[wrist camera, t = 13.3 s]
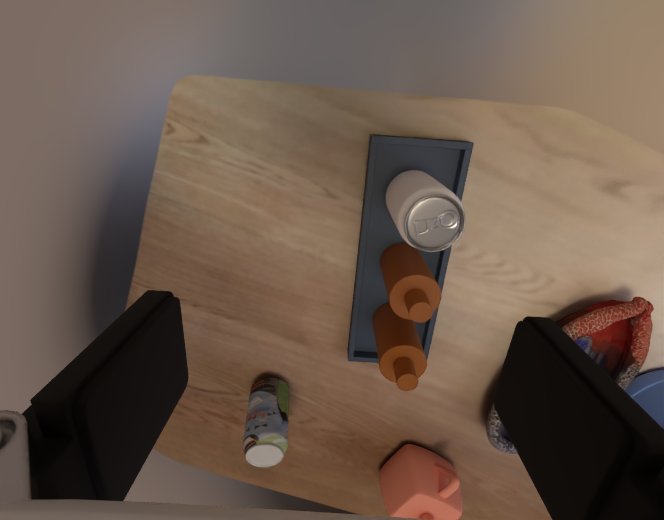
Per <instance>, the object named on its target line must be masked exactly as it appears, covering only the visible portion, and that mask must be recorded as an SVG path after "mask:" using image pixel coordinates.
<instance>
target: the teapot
mask: <svg viewBox="0 0 664 520" xmlns="http://www.w3.org/2000/svg"><path fill="white" fill-rule="evenodd" d="M379 482H380V488H381V492H382V496H383V499H384V503H385V505H386V508H387V511H388V513H389V516H390V517H400V518H415V519H430V520H457V519H459V518H460V517H461V515H462V495H461V488H460V479H459V477H458V476H457V473H456V471H455V469H454V468H453V466H452V465H451V464H450V463H449V462H448V461H447V460H445V459H444V458H442V457H441V456H439V455H437V454H436V453H434V452H432V451H430V450H427V449H424V448H422V447H419V446H416V445H413V444H406V445H404V446H403V447H402V448H401V449H400V450H398V451H397V452H396V453H395V454H394V455H393V456H392V457H391V458H390V459H389V460H388V461H387V462H386V463H385V464H384V466H383V467H382V468H381V471H380V475H379Z"/></svg>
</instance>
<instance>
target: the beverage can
mask: <svg viewBox="0 0 664 520" xmlns="http://www.w3.org/2000/svg"><path fill="white" fill-rule="evenodd" d="M288 413H289V388H288V386H287V384H286V383H285V382H284V381H282V380H280V379H277V378H271V377H270V378H263V379H260V380H258V381H256V382H255V383H254V384H253V385H252V387H251V391H250V398H249V405H248V412H247V419H246V427H245V434H244V441H243V451H244V453H245V455H246V459H247V461H248V462H249V463H250V464H252V465H254V466H257V467H270V466H274V465H276V464H278V463H279V462H280V461H281V460H282V458H283V455H284V454H285V452H286V450H287V447H288Z"/></svg>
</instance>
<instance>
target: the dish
mask: <svg viewBox="0 0 664 520" xmlns="http://www.w3.org/2000/svg"><path fill="white" fill-rule="evenodd" d="M653 309H654V308H653V305H652V304H651V303H650V302H649V301H646V300H645V299H644V298H641V297H634V298H633V300H632V301H629V302H623V301H616V300H609V301H604V302H601V303H597V304H595V305H593V306H591V307H589V308H587V309H584V310H582V311H580V312H577V313H575V314H572V315H570V316H568V317H566V318H564V319H562V320H561V321H559V322H557V323H556V324H557V325H558V326H559V327H560V328H561V329H562V330H563V331H564V332H565V333H566V334H567V335H568V336H569V337H570V338H571V339H572V340H574V341H575V342H576V343H577V344H578V345H579V346H580V347H581V348H582V349H583V350H584V351H585V352H586V353H587V354H588V355H589V356H590V357H591V358H592V359H593V360H594V361H595V362H596V363H597V364H598V365H599V366H600V367H601V368H602V369H603V370H604V371H605V372H606V373H607V374H608V375H609V376H610V377H611V378H612V379H613V380H614V381H615V382H616V383H617V384H618V385H619V386H620V387H621V388H622V389H623V390H625V389H626V387H627V386H628V385H629V384H630V383H631V381H632V380H633V379H634V377H635V376H636V375H637V373H638V372H639V370H640V368H641V367H642V365H643V363H644V361H645V359H646V356H647V354H648V351H649V345H650V337H651V332H652V321H651V312H652V311H653ZM494 393H495V392H494ZM493 397H494V395H493ZM493 397H492V400H491V403H490V406H489V409H488V415H487V427H486V430H487V436H488V439H489V441H490V443H491V444H492V445H493V447H495V448H496V449H498V450H500V451H502V452H505V453H510V454H518V452H517V451H516V449H515V447H514V445H513V443H512V441H511V439H510V437H509V435H508V433H507V431H506V429H505V427H504V426H503V424H502V422H501V420H500V418H499V416H498V414H497V412H496V410H495V408H494V402H493Z"/></svg>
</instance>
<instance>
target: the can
mask: <svg viewBox="0 0 664 520" xmlns="http://www.w3.org/2000/svg"><path fill="white" fill-rule="evenodd" d="M386 205H387V208H388V210H389V212H390V215H391V217H392V219H393V221H394V223H395V225H396V227H397V229H398V231H399V233H400V235H401V236H402V238H403V239H404V240H405V241H406V242H407V243H408V244H409V245H411V246H413V247H415V248H417V249H419V250H422V251H425V252H438V251H442V250H444V249H447V248H448V247H450V246H451V245H453V244H454V243H455V242H456V241H457V240H458V239H459V237H460V236H461V234H462V232H463V229H464V225H465V215H464V210H463V206H462V204H461V202H460V200H459V199H458V197H457V196H456V195H455V194H454V193H453V192H452V191H450V190H449V189H448V188H446V187H445V186H444V185H442V184H441V183H440V182H438V181H437V180H435V179H434V178H433V177H431V176H430V175H428V174H427V173H425V172H422V171H418V170H409V171H405V172H403V173H401V174H399V175H397V176H396V177H395V178H394V179H393V180H392V181H391V182H390V184H389V186H388V188H387V191H386Z"/></svg>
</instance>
